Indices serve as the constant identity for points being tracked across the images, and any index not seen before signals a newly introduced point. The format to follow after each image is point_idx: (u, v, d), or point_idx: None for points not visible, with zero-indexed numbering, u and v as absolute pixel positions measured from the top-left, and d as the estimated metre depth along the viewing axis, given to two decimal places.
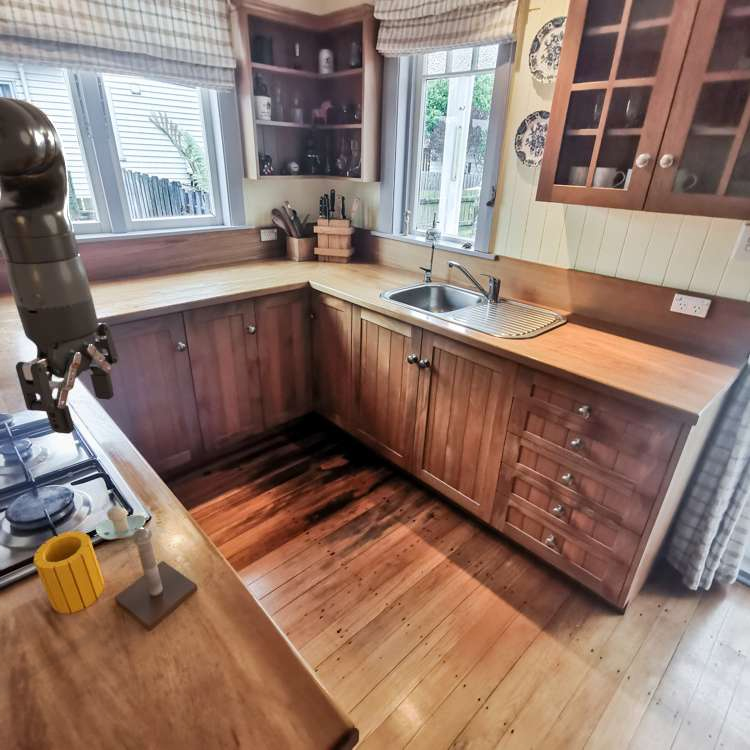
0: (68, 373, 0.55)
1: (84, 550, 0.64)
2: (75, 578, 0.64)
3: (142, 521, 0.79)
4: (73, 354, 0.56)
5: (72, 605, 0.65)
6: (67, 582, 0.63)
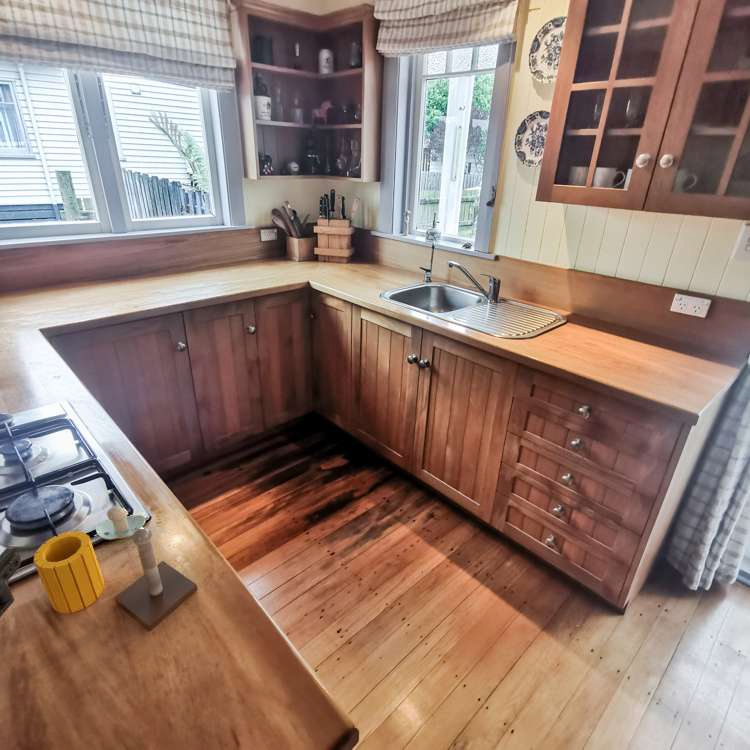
0: None
1: (84, 550, 0.64)
2: (75, 578, 0.64)
3: (142, 521, 0.79)
4: None
5: (72, 605, 0.65)
6: (67, 582, 0.63)
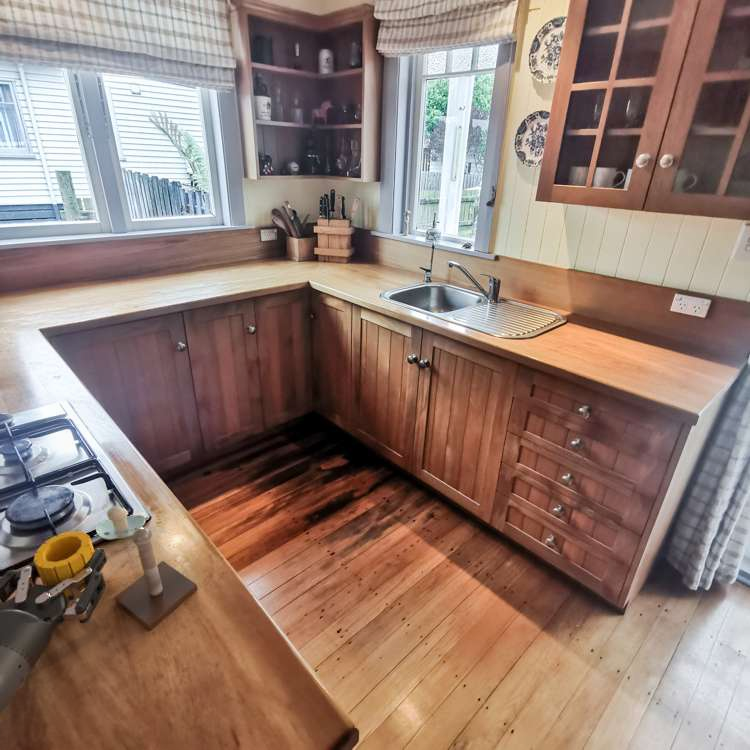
0: None
1: (84, 550, 0.64)
2: None
3: (142, 521, 0.79)
4: None
5: (72, 605, 0.65)
6: None
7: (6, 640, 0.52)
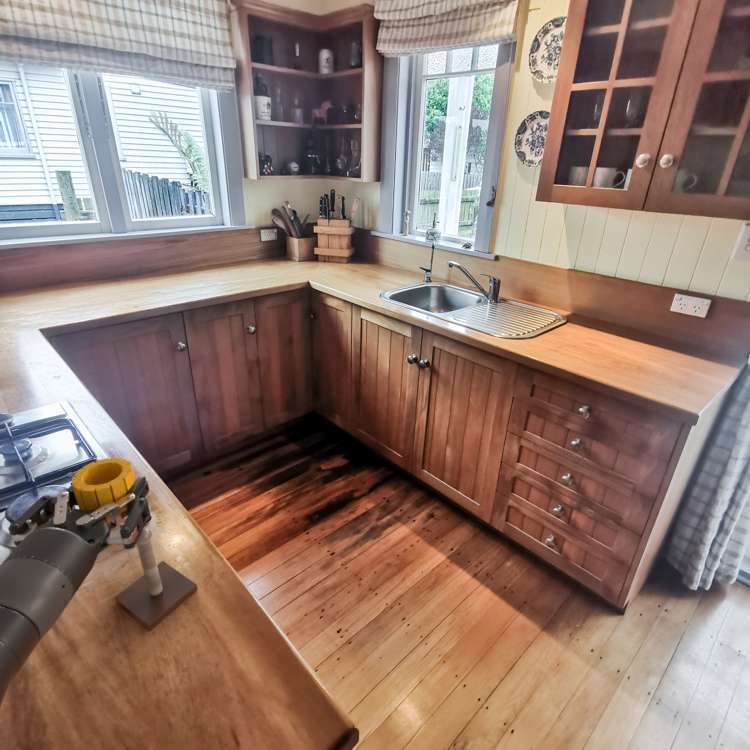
0: None
1: (126, 475, 0.58)
2: None
3: None
4: None
5: None
6: None
7: (48, 557, 0.46)
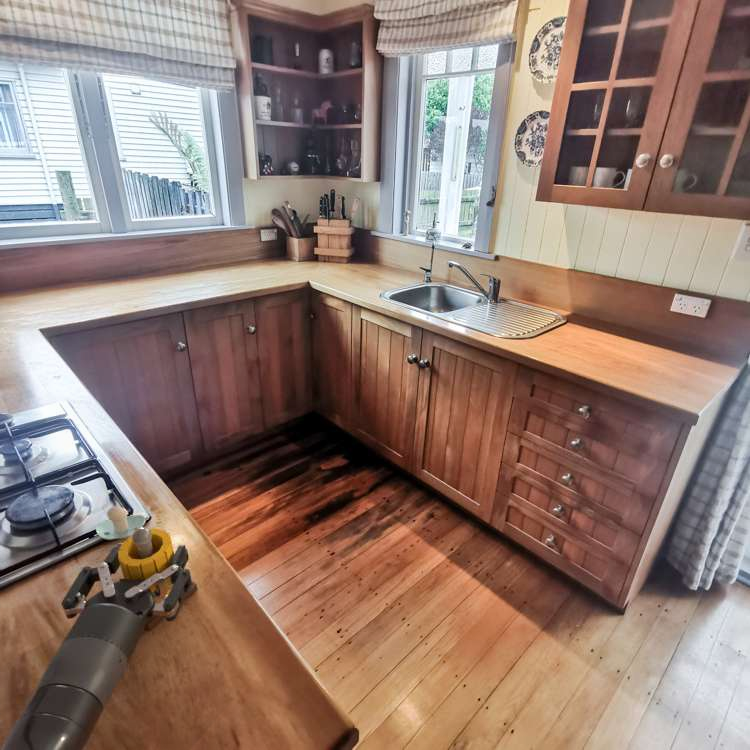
0: None
1: (167, 547, 0.64)
2: None
3: (142, 521, 0.79)
4: None
5: None
6: None
7: (106, 634, 0.52)
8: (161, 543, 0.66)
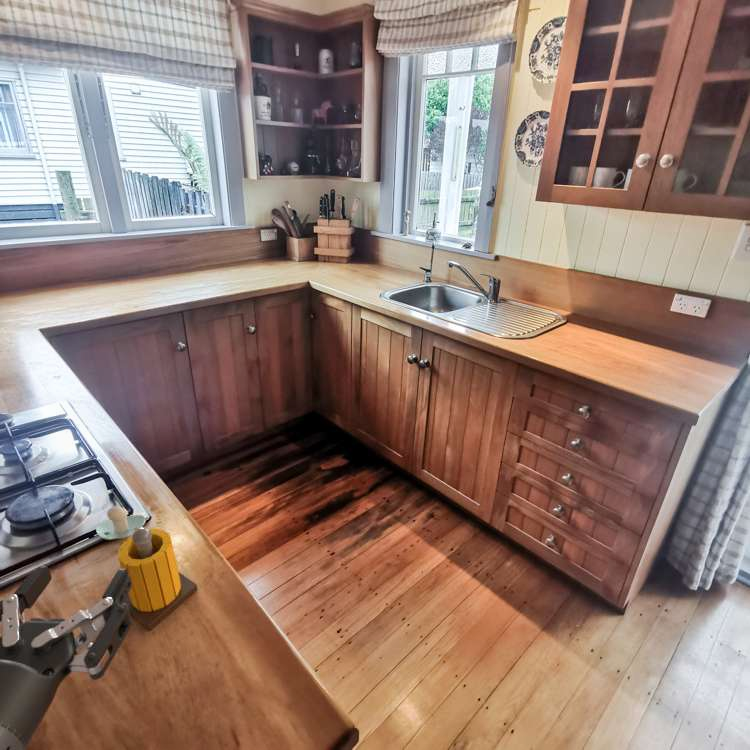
0: None
1: (167, 547, 0.64)
2: (159, 576, 0.63)
3: (142, 521, 0.79)
4: None
5: (154, 603, 0.64)
6: (151, 580, 0.63)
7: None
8: (161, 543, 0.66)
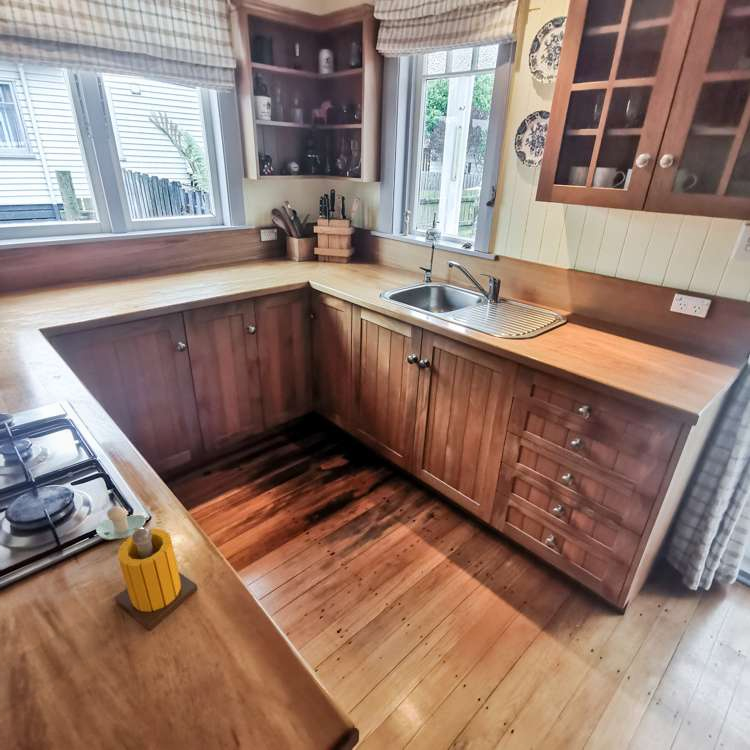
0: None
1: (167, 547, 0.64)
2: (159, 576, 0.63)
3: (142, 521, 0.79)
4: None
5: (154, 603, 0.64)
6: (151, 580, 0.63)
7: None
8: (161, 543, 0.66)
